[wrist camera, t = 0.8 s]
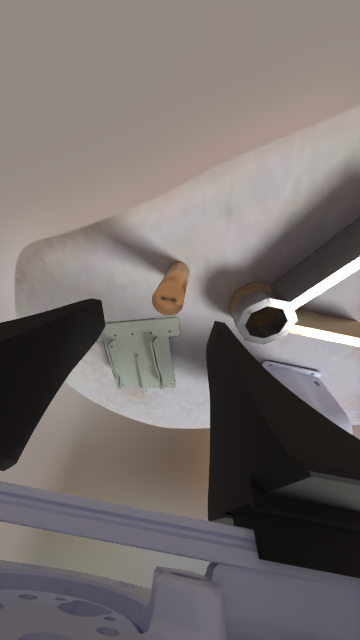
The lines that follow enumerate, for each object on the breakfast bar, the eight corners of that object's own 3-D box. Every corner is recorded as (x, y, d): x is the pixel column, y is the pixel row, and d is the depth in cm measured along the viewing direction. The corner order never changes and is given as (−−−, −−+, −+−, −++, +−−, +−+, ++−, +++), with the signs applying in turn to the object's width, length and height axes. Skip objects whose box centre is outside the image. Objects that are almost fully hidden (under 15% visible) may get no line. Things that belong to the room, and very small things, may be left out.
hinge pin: (191, 264, 17) (185, 290, 11) (187, 283, 19) (180, 318, 12) (170, 260, 17) (153, 283, 11) (168, 279, 19) (151, 312, 12)
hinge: (470, 212, 13) (584, 208, 9) (338, 340, 21) (368, 366, 17) (284, 172, 13) (320, 152, 9) (225, 316, 21) (230, 337, 17)
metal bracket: (187, 400, 23) (102, 399, 26) (190, 376, 29) (120, 377, 32) (174, 311, 19) (75, 321, 22) (180, 303, 25) (101, 311, 28)
